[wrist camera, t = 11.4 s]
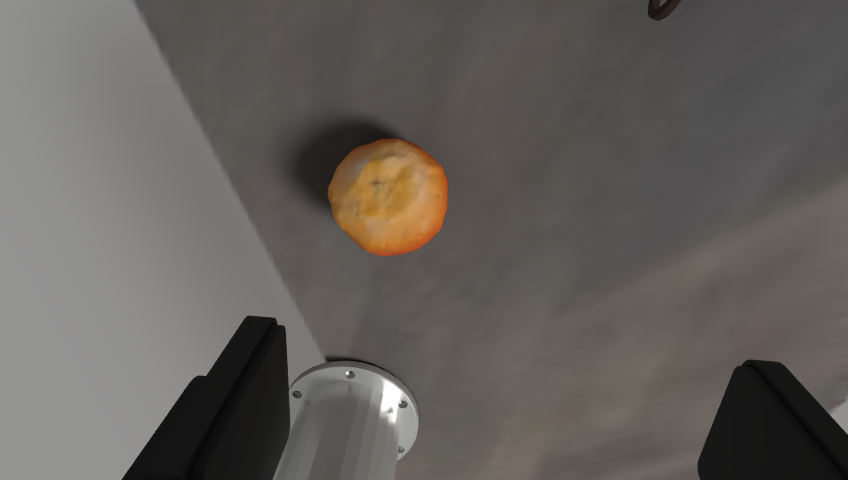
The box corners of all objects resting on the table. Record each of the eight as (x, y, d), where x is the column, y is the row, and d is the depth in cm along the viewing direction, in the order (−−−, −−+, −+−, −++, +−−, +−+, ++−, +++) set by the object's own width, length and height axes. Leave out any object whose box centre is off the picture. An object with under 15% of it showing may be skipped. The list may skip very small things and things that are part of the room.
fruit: (354, 265, 40) (322, 257, 32) (347, 166, 41) (314, 135, 33) (457, 255, 39) (450, 244, 31) (448, 154, 40) (439, 119, 32)
